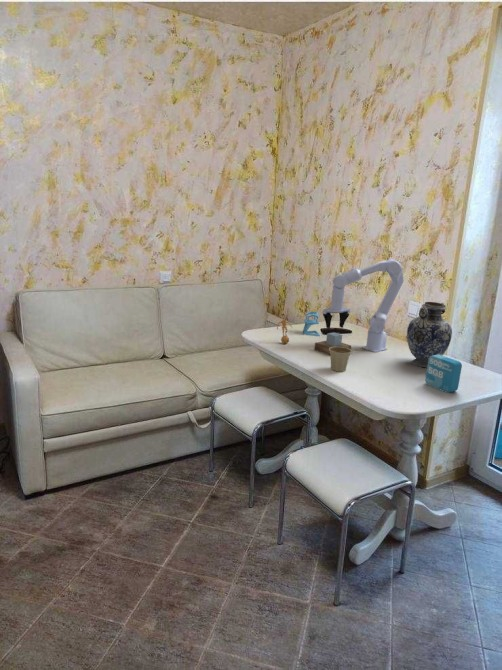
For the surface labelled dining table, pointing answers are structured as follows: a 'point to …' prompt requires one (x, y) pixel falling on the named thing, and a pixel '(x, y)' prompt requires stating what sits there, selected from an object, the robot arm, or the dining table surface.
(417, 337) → the decorative vase
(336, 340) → the slate cube
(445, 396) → the dining table surface
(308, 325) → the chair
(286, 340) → the figurine
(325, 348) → the walnut base block
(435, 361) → the data package
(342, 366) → the flower pot
